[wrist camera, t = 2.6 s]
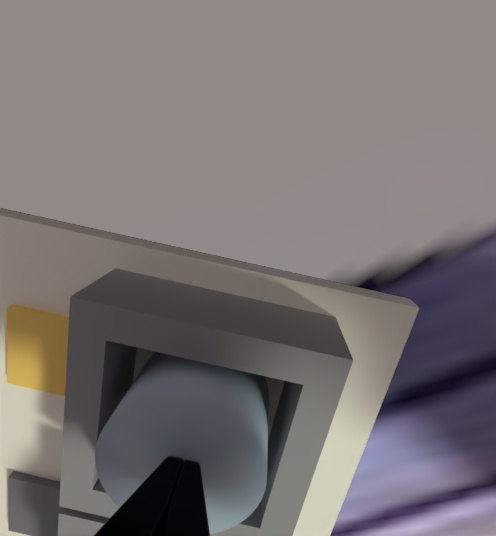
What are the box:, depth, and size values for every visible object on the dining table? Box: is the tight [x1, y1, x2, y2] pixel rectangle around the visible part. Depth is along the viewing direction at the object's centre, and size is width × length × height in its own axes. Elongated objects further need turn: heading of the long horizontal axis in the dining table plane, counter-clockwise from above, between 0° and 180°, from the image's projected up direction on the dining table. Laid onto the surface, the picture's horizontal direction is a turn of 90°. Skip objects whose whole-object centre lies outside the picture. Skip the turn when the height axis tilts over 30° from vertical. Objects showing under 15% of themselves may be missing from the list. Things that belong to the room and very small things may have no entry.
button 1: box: [95, 352, 269, 534], centre depth 10 cm, size 4×4×3 cm
